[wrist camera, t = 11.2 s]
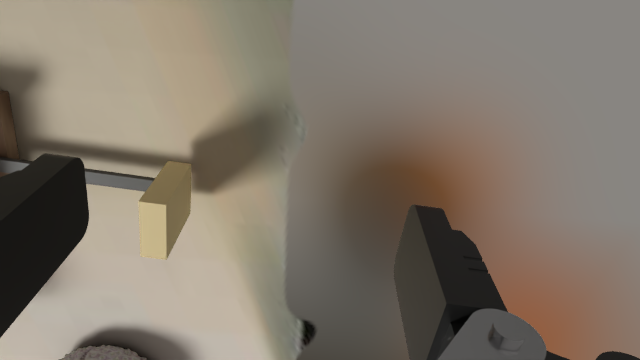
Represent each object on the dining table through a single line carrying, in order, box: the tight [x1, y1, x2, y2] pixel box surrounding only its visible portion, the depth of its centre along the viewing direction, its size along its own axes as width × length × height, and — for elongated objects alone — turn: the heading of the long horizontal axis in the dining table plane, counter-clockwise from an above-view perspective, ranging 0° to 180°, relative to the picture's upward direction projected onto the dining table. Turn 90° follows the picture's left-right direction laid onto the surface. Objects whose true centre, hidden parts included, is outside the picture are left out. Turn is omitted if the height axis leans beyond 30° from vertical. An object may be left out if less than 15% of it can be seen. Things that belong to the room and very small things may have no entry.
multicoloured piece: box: [0, 157, 191, 260], centre depth 38 cm, size 8×26×7 cm, turn 82°
